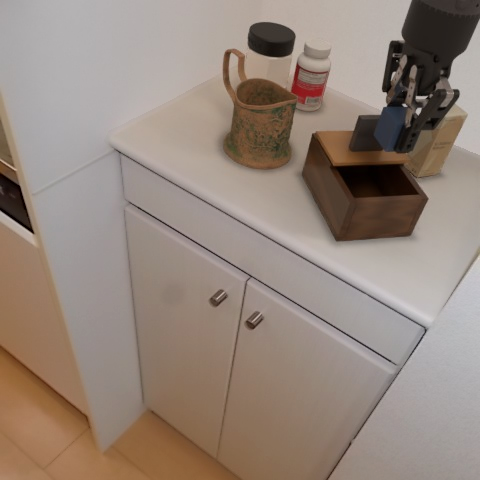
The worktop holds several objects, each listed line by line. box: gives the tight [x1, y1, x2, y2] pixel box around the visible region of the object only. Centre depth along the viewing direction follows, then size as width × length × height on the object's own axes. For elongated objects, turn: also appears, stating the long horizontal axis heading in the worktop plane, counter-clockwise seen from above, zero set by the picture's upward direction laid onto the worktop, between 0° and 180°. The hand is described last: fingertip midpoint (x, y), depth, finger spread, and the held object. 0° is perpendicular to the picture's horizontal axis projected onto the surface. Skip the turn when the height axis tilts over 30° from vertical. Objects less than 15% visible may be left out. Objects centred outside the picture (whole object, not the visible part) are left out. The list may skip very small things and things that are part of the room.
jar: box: [244, 21, 297, 89], centre depth 94 cm, size 9×8×12 cm
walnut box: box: [301, 132, 429, 242], centre depth 78 cm, size 12×16×7 cm
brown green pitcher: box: [222, 48, 298, 170], centre depth 84 cm, size 12×18×12 cm, turn 33°
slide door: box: [314, 114, 411, 166], centre depth 75 cm, size 12×8×6 cm, turn 104°
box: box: [404, 103, 469, 178], centre depth 86 cm, size 5×4×11 cm
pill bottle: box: [290, 37, 332, 112], centre depth 95 cm, size 6×6×11 cm
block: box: [374, 106, 421, 152], centre depth 67 cm, size 4×4×4 cm
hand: (393, 141), depth 69 cm, fingers closed on block, 4 cm apart
